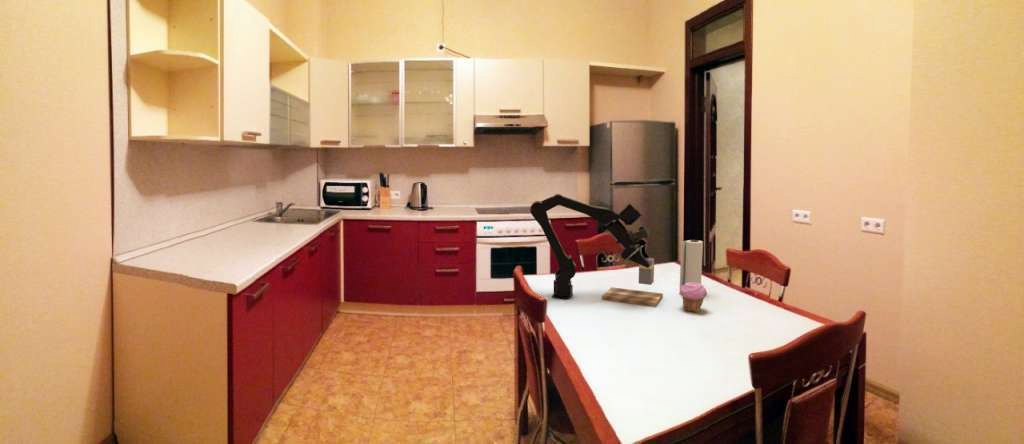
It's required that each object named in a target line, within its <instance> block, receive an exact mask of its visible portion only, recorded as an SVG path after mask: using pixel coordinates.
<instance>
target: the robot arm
mask: <svg viewBox="0 0 1024 444" xmlns="http://www.w3.org/2000/svg"><path fill="white" fill-rule="evenodd" d="M557 206H561V207H563V208H566V209H570V210H572V211H574V212H578V213H580V214H583V215H586V216H588V217H590V218H591V219H593V220H595V221H596V222H598V223H600V224H603V225H602V233H603V234H605V233H607V232H608V233H609V234H610V235H611V236H612V238H614V240H616V242H615V243H616V244H617V245H620V246H621V247H622V248H623V251H622V252H621V253H620V258H621V259H622V260H623V261H626V260H628V261H631V262H634V263H636V264H638V265H639V264H640V265H642V266H644V267H647V268H649V267H650V265H649V264H648V262H647V261H646V259H645V258H651V257H650V255H649V253H648V251H647V245H648V244H647V243H648V242H649V241H648V240H647V239H646V238H648V237H650V236H651V233H650V229H649V228H648V227H645V226H644V225H642V226H640V227H639V228H638V230H637V231H632V230H629V229H628V228H627V227H628V226H630V227H631V226H633V225H634V224H635V223H636V222H637V221H638V220H640V219H641V218H642V217H643V216H642V214H641V212H640V211H638V210H637V209H636V208H635V207H634V206H633V205H631V203H628V204H626V206H624V208H623V209H621V210H620V211H619V212H617V211H612V210H610V209H609V208H607V207H605V206H599V205H598V206H597V205H590V204H587V203H584V202H581V201H578V200H576V199H572V198H570V197H567V196H565V195H562V194H561V193H556V194H553V196H551V197H548V198H546V199H543V200H535V201H533V202H532V203H531V205H530V210H529V211H530V214H531V216H532V217H533V218H534V220H535V221H536V223H538V225H539V226H540V227H541V229H542V232H543V233H544V235H545V237H546V240H547V242H548V243H549V246H550V248H551V250H552V251H553V254H554V256H555V258H556V261H557V265H558V268H559V269H557V270H556V271H555V272H554V277H555V278H554V280H553V294H552V295H551V297H552V298H555V299H556V298H558V299H564V300H568V299H570V298H571V297H572V296H573V295H574V294H573V290H574V289H573V287H574V285H573V284H572V278H574V277H575V276H576V273H577V271H576V268H577V265H576V263H575V262H574V260H573V258H572V255H571V254H569V255H567V254H566V252H565V250H564V248H563V246H562V244H561V243H560V240H559V239H558V236H557V234H556V233H555V230H554V229H553V226H552V224H551V222H550V219H549V215H548V211H550V210H552V209H553V208H555V207H557Z"/></svg>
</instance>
